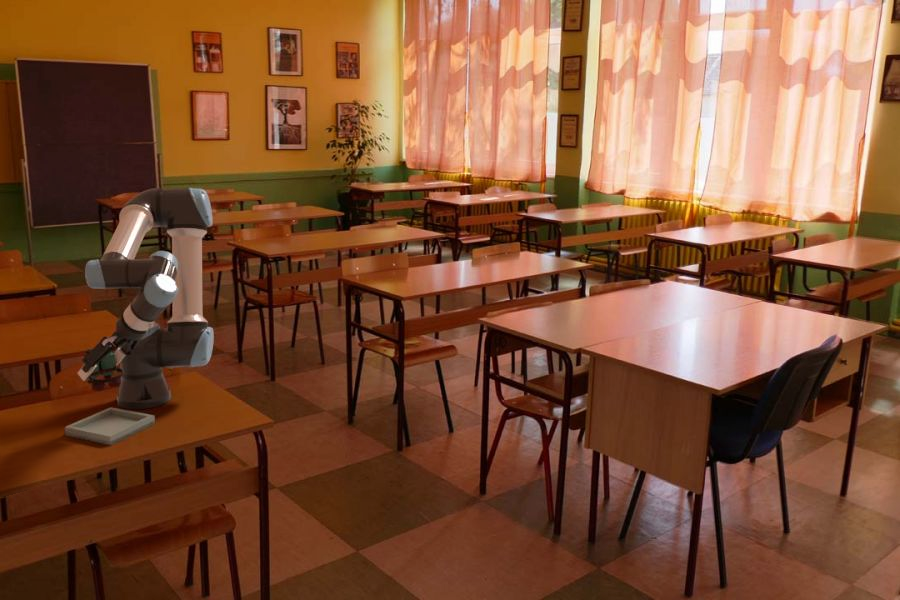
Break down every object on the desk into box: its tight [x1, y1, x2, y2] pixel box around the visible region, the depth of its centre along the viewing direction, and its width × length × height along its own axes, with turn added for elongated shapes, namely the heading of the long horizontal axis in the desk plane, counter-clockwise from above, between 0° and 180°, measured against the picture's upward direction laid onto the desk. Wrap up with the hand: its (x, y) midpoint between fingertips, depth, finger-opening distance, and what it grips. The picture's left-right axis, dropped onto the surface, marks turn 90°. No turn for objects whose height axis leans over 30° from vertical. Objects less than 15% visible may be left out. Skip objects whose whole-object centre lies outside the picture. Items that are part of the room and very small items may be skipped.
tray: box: [64, 406, 156, 446], centre depth 215 cm, size 16×16×2 cm
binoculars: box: [85, 349, 123, 392], centre depth 211 cm, size 9×11×10 cm
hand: (96, 371), depth 212 cm, fingers closed on binoculars, 9 cm apart
